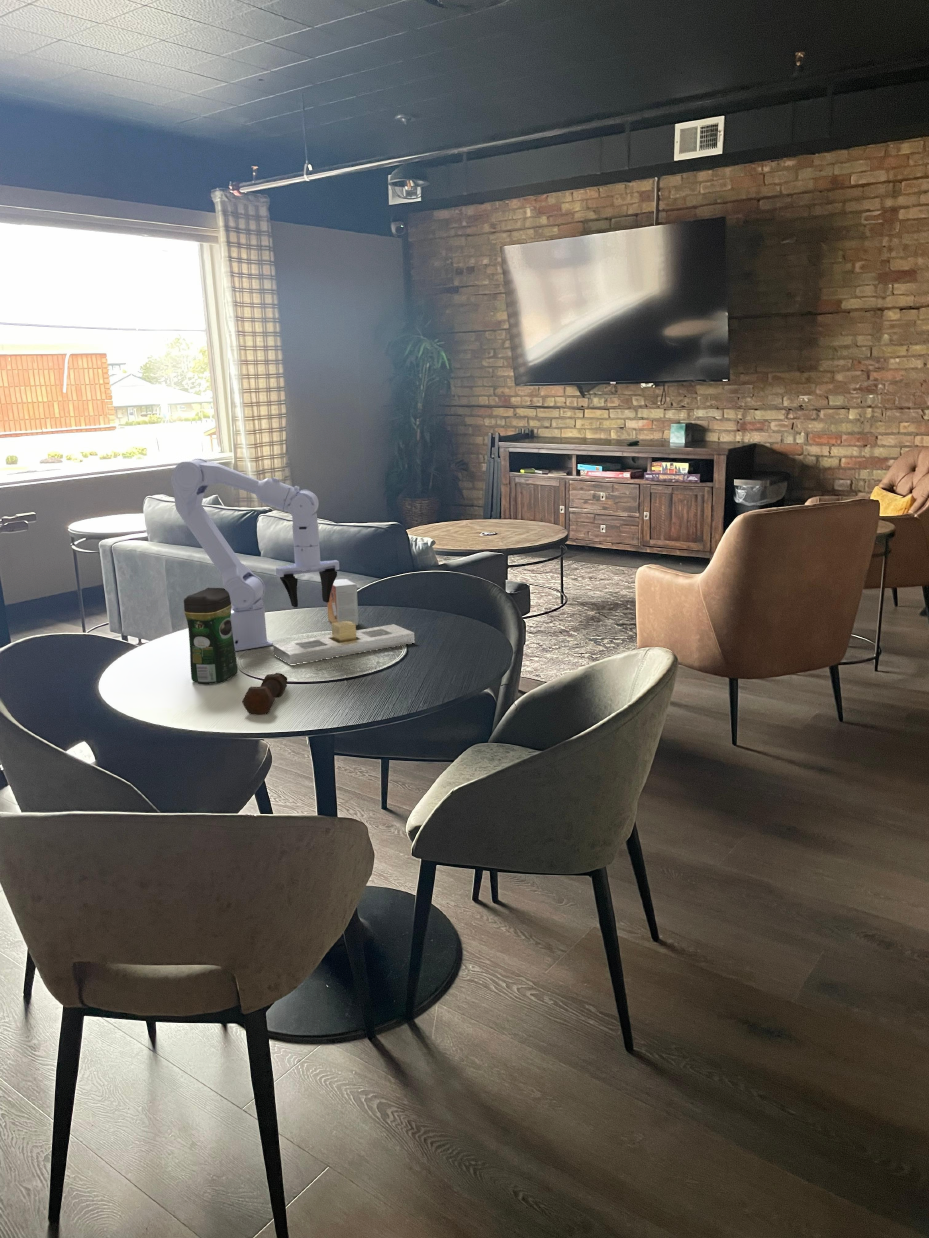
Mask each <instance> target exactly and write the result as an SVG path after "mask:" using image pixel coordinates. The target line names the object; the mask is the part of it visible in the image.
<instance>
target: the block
mask: <svg viewBox="0 0 929 1238" xmlns="http://www.w3.org/2000/svg"><path fill="white" fill-rule="evenodd" d="M356 627H357V625H356V624H354V623H352V622H350V621H342V622H336V623H331V631H332V634H331V635H332V637H333V641H335V642H337V643H343V642H349V641H354V640H356V631H357V628H356Z"/></svg>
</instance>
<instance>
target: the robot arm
mask: <svg viewBox="0 0 929 1238" xmlns="http://www.w3.org/2000/svg"><path fill="white" fill-rule="evenodd" d="M172 472H173V473H172V475H171V479H170V483H171V486H172V487H173V495H174V496H173V497H174V505H175V506H174V507H175V509H176V511H177V513H178V515H179V517H181V519H182V520H183V522H184V523H185V525H186V526H187V527H188V529H189V530H190V532H191V533H192V535H193V536H194V538H195V539H196V540H197V542H198V544H199V545H200V546H201V548H202V549H203V551H204V552H205V553H206V555H207V556H208V558H209V559H210V560H211V562H212V564H213V565H214V567H215V568H216V569H217V571H218V572H219V573H220V575H221V577H222V579H221V580H222V585H223V588H224V589H225V590H226V591H228V593H229V595H230V600H231V625H232V633H233V640H234V647H235V652H238V651H244V650H249V649H257V648H262V647H268V646H273V645H274V642H272V641H271V640H269V639H268V637H267V624H266V613H265V611H266V610H265V603H264V602H263V600H262V598H263V596H264V595H265V592H266V585H265V583H264V581H263V580H262V578H260V577H259V576H258V575H256V574H254V573H253V571H252V570H251V569H250V568H249V567H248V566H246V565H245V564H243V563H242V561H241V560H240V559H239V557H238V556H237V554H236V553H235V551H234V550H233V549H232V547H231V546H230V544H229V542H227V540H226V538H225V537H224V535H223V534H222V532H221V531H220V530H219V528H218V527H217V525H216V524H215V522H214V521H213V519H212V518H211V517H210V515H209V514H208V512H207V511H206V509H205V507H204V506H203V500H204V496H205V491H206V490H207V489H208V487H209V486H211V485H219V484H220V485H226V486H228V487H231V488H234V489H238V490H240V491H244V492H247V493H250V494H253V495H255V497H256V498H257V500H258V502H259V503H261V504H264V505H267V506H268V507H273V508H275V509H276V510H277V509H278V510H281V511H283V512H285V513H286V512H288V513H289V514H290V516H291V520H292V539H293V554H294V555H293V556H294V563H293V564H288V565H284V566H278V567H275V572H276V574H275V575H276V577H278V578H279V580H280V581H281V583H282V584H283V586H284V588H285V590H286V593H287V595H288V598H289V601H290V604H291V606H292V607H293V608H298V607H299V601H298V600H299V599H298V583H299V582H298V581H299V579H298V578H296V576H295V575H301V574H303V575H304V574H309V573H316V572H317V573H319V577H320V583H321V597H322V602H325V603H327V602H329V599H330V593H331V589H332V586H333V583H334V581H335V580H337V577H338V571H337V570H340V561H339V560H337V559H334V560H322V561H321V549H320V534H319V533H320V532H319V523H318V513H317V511H318V509H319V506H320V505H319V503H320V502H319V498H318V497H317V495H316V494H315V493H314V492H312V491H310V490H309V489H301V490H300V486H298V485H295V486H291V485H288V484H286V483H283V482H281V481H280V478H278V477H275V476H274V477H272V478H270V477H267V478H265V479H263V480H259V479H257V478H254V477H252V476H250V475H248V474H245V473H242V472H239V471H237V470H235V469H232V468H231V467H228V466H225V465H223V464H220V463H218V462H214V461H207V460H206V459H203V458H194V459H192V460H187V461H181V462H179V463H178V464H176V466H175V467H174V469H173V471H172Z"/></svg>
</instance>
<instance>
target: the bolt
mask: <svg viewBox="0 0 929 1238" xmlns="http://www.w3.org/2000/svg"><path fill="white" fill-rule="evenodd" d="M264 676H265V677H264V678H263V679H262V682H261V684H260V686H250V687H249V688H248V689H247V691H246V693H245V695H244V696H243V699H242V701H241V702H242V705H243V707H244V708H245V711H247V713H248V714H249V715H253V716H263V715H267V714H269V713H270V711H271V710H272V707H273V705H274V703H275V702H276V699H275V698H281V697H282V696H283V694H284V693H285V691H286V689H287V686H288V678H287V676H285V674H283V673H281V672H280V673H279V672H276V673H272V674H271V673H270V674H269V673H268V674H266V675H264Z"/></svg>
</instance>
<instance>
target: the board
mask: <svg viewBox="0 0 929 1238" xmlns="http://www.w3.org/2000/svg"><path fill="white" fill-rule="evenodd" d="M412 643H414V644H415V632H414V631H411V630H408V629H407V628H403V627H401V626H399V625H396V624H394V623H392V624H388V625H387V624H386V625H381V626H375V627H369V628H365V629H356V640H354V641H349V642H343V643H337V642H335V641H333V637H332V634H327V635H323V636H322V635H321V636H316V637H309V638H305V639H299V640H291V641H287V642H280V643H276V644H274V643H273V645H272V647H273V649H272V650H273V656H274V655H276V656H277V657H279V658H281V659H282V660H284V661H286V662H287V663H289V664H297V663H303V662H310V661H316V660H321V659H326V658H332V657H336V656H342V655H348V656H350V655H349V654H354V655H356V654H355V653H359V652H364V651H370V650H376V649H381V650H383V649H382V648H387V647H392V648H395V647H394V646H397V647H400V646H399V645H403V646H407V645H406V644H408V645H413V644H412ZM387 649H388V648H387ZM376 651H377V650H376ZM370 652H371V651H370ZM359 654H360V653H359ZM277 657H276V658H277ZM279 658H278V659H279ZM332 659H333V658H332ZM282 660H281V661H282ZM321 661H322V660H321ZM316 662H317V661H316ZM287 663H286V664H287ZM310 663H311V662H310Z"/></svg>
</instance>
